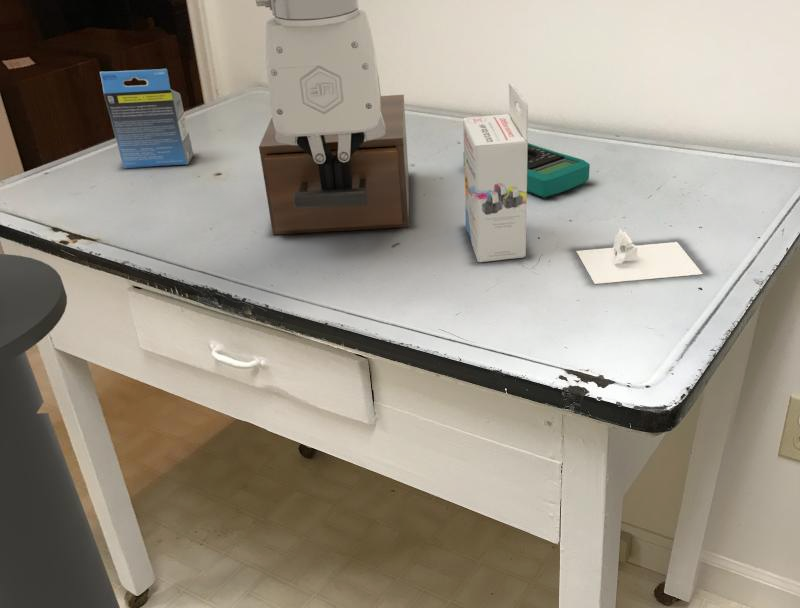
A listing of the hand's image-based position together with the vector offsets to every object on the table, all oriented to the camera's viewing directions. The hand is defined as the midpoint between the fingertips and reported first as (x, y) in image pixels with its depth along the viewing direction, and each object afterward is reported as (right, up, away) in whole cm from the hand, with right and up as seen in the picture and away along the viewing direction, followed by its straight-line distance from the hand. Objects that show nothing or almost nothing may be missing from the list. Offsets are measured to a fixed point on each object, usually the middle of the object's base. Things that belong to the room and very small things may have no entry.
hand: (338, 196), depth 86 cm
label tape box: (-26, +11, +28) cm, 39 cm away
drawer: (0, 0, +8) cm, 8 cm away
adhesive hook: (+29, -8, -5) cm, 30 cm away
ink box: (+16, -5, 0) cm, 16 cm away
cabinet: (0, +2, +12) cm, 12 cm away
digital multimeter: (+21, +6, +15) cm, 26 cm away
